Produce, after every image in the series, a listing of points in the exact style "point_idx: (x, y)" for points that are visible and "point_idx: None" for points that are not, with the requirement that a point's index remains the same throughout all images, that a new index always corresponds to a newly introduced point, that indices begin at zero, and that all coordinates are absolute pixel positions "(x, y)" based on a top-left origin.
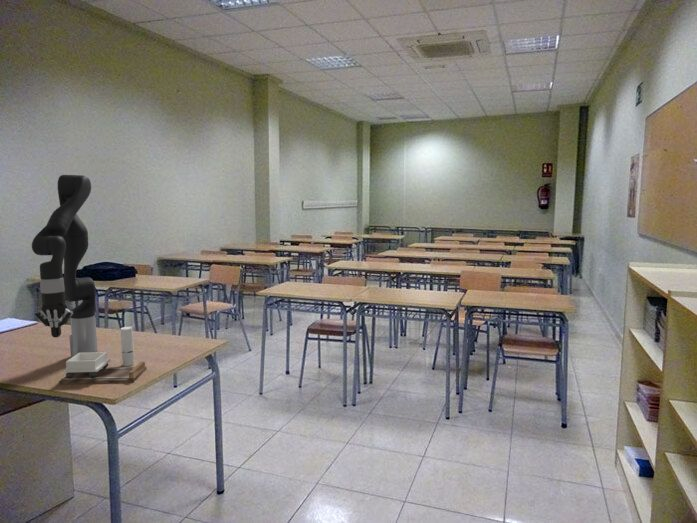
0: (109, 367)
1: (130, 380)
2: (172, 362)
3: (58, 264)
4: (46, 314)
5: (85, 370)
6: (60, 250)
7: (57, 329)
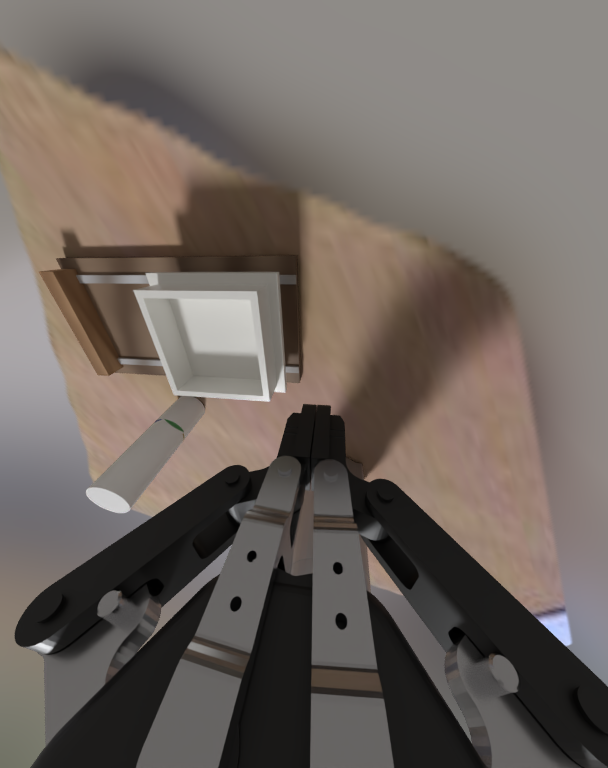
0: None
1: (66, 258)
2: (98, 407)
3: None
4: (401, 672)
5: (188, 272)
6: None
7: (291, 448)
